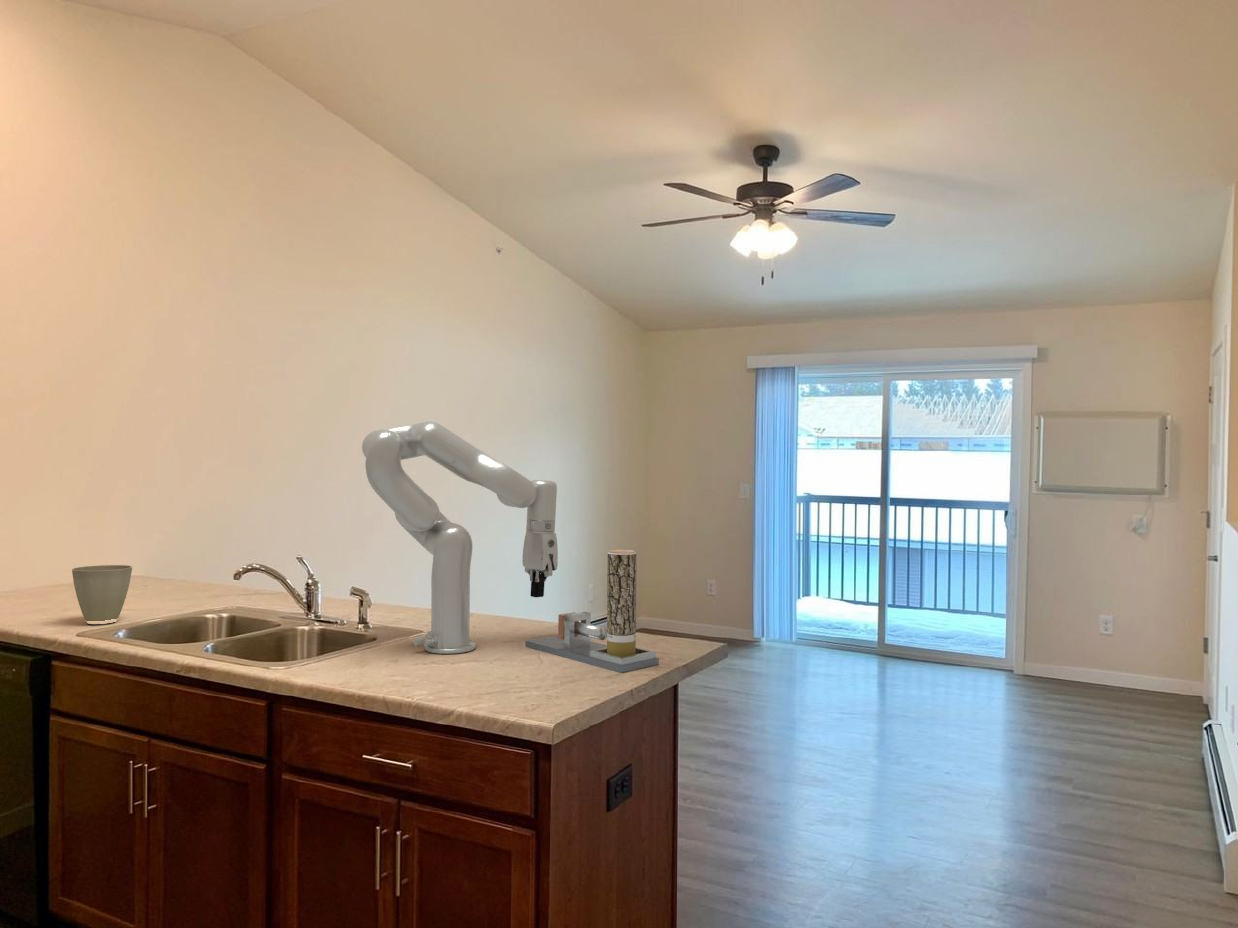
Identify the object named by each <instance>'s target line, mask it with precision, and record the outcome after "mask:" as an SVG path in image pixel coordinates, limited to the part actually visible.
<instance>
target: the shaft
mask: <svg viewBox="0 0 1238 928" xmlns="http://www.w3.org/2000/svg"><path fill="white" fill-rule="evenodd" d="M574 613H576V612H574V611H573V612H566V613H560V614H558V618H557V619H558V620H557V621H558V622H557V623H558V629H557V631H558V633H557V635H558V639H562V640H564V620H565V615H568V614H574ZM577 634H579V635H583V636H587V637H590V639H591V638H592V639H596V640H601V641H604V640H607V627H603V626H599V625H593V624H591V625H590V624H586V623H581V621H574V635H577Z"/></svg>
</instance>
